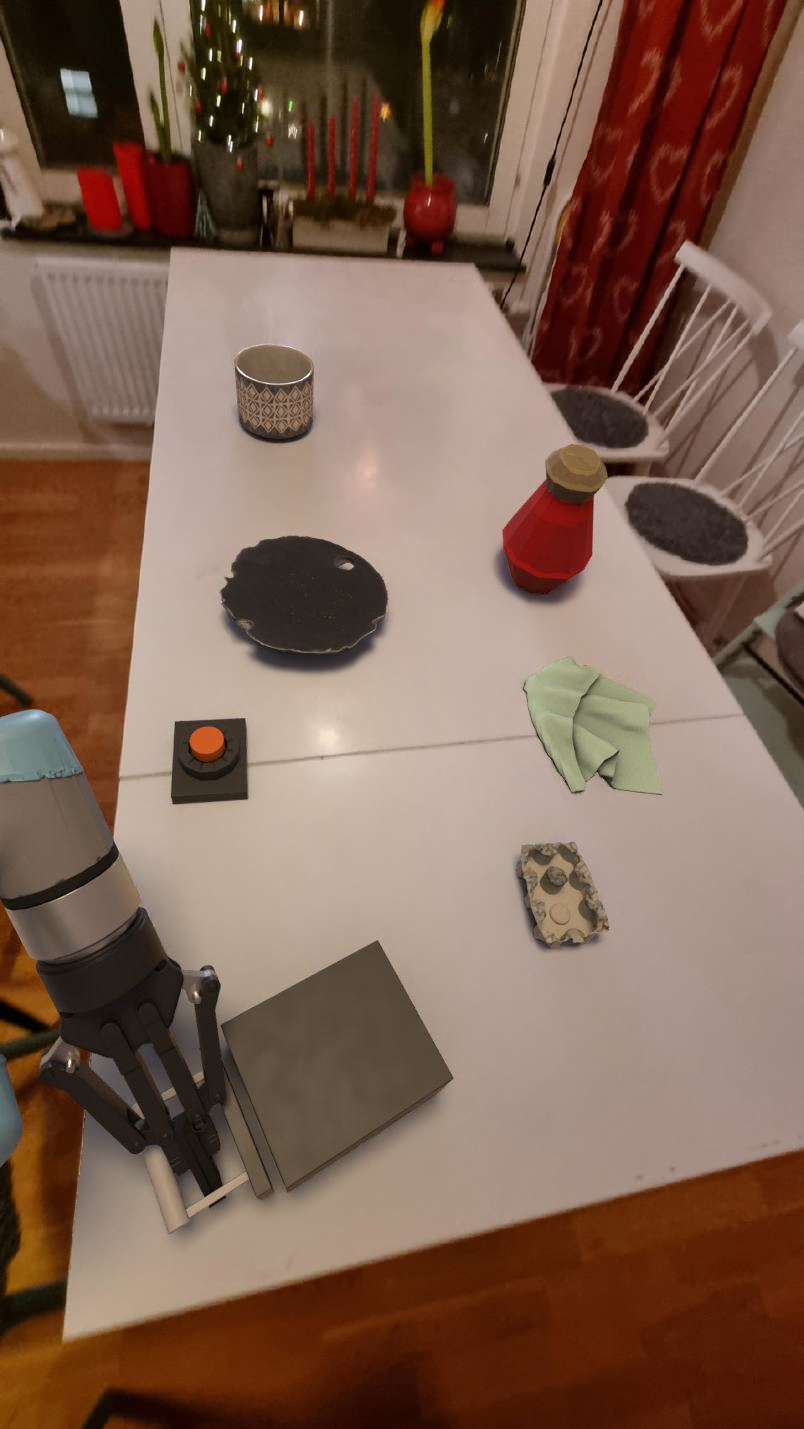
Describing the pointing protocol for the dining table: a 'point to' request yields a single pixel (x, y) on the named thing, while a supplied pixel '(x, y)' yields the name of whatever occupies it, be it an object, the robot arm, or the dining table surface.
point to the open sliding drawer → (255, 1172)
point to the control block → (210, 764)
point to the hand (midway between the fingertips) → (214, 1189)
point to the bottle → (555, 522)
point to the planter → (274, 390)
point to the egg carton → (561, 894)
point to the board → (304, 595)
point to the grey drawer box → (334, 1062)
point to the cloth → (593, 727)
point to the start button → (207, 744)
